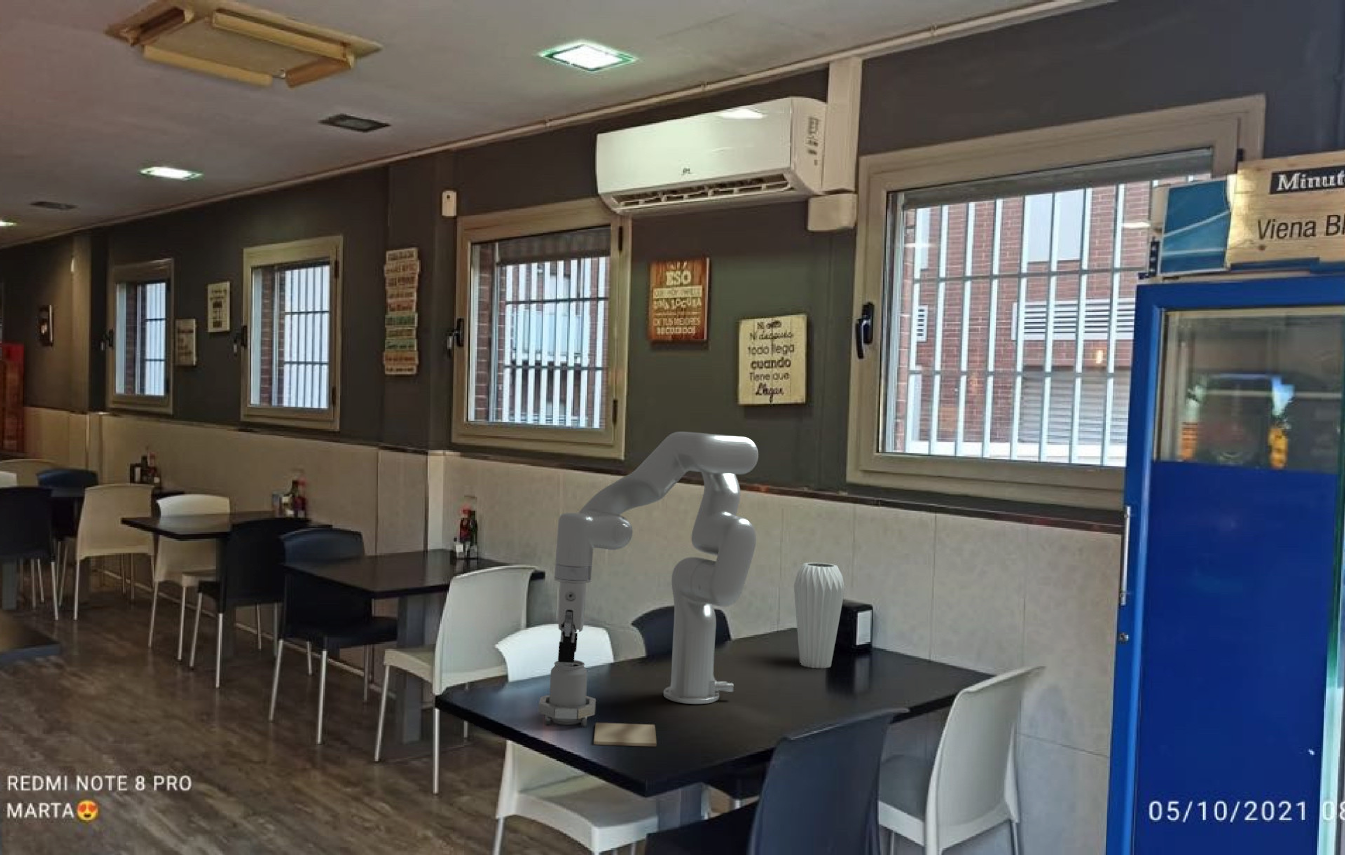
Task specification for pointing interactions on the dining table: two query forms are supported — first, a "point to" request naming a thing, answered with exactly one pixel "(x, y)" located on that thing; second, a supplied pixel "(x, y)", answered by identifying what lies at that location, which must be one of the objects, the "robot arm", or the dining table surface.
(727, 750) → the dining table surface
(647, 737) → the cork pad
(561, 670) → the can
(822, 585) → the vase
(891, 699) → the dining table surface
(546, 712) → the ring stand
